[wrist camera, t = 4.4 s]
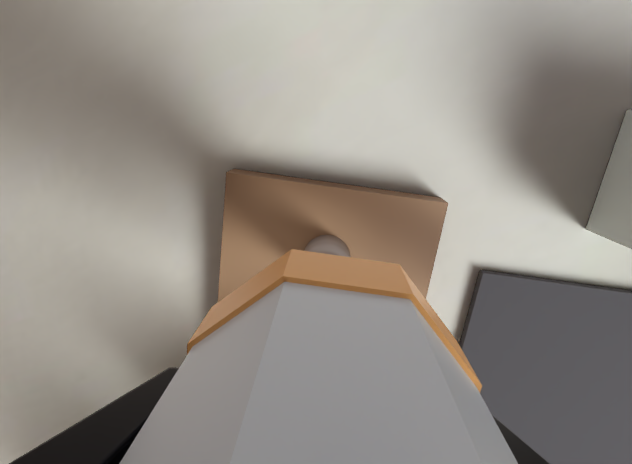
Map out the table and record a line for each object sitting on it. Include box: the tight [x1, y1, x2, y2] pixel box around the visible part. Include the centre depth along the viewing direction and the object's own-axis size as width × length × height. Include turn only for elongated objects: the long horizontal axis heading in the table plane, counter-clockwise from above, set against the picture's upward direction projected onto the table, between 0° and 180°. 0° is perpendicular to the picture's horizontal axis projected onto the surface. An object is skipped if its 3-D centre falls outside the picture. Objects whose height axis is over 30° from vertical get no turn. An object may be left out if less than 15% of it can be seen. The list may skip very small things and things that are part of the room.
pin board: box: [218, 169, 448, 302], centre depth 16 cm, size 16×9×6 cm, turn 172°
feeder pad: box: [459, 270, 632, 464], centre depth 19 cm, size 10×10×1 cm
